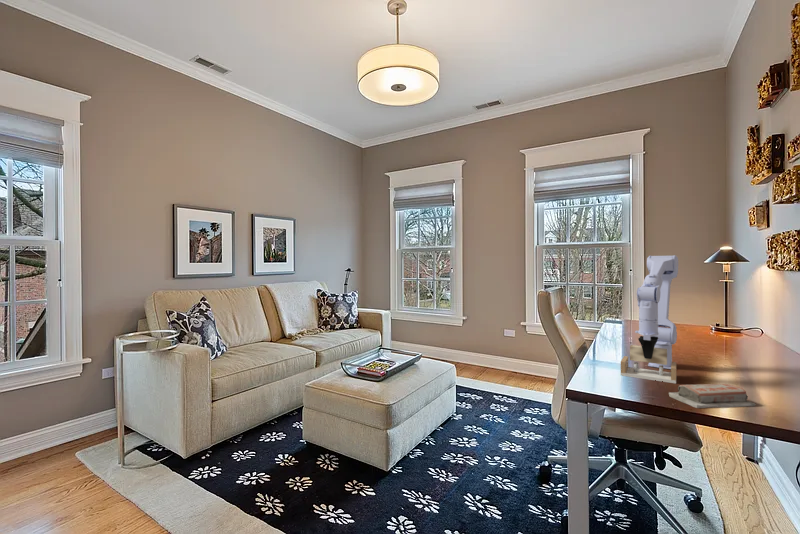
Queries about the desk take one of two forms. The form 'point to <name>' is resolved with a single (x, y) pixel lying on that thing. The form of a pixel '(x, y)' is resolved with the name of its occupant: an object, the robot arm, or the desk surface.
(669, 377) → the wooden peg tray
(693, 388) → the packaged product
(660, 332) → the robot arm
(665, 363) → the shelf board
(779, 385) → the desk surface
